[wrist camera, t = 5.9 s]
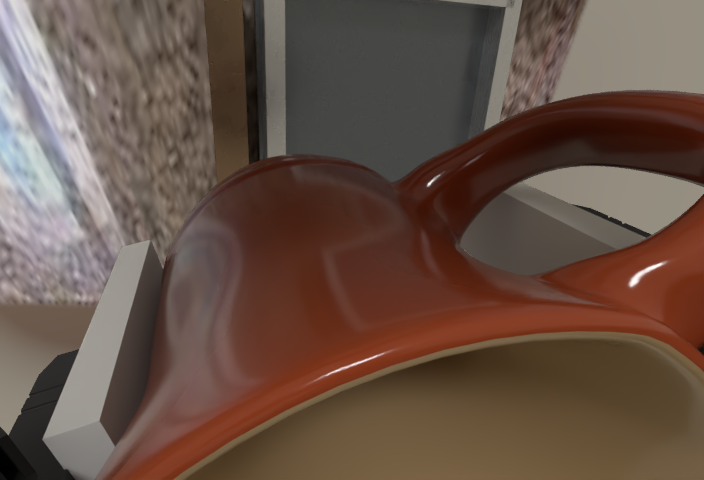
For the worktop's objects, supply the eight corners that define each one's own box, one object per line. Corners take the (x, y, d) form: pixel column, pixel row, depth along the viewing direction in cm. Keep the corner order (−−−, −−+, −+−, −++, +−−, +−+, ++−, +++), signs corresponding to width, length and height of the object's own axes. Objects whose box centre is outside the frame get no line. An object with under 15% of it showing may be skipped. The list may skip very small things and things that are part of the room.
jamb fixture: (200, -44, 25) (200, -57, 22) (502, -9, 32) (538, -15, 28) (222, 253, 33) (224, 278, 30) (459, 235, 40) (484, 254, 36)
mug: (298, 398, 17) (395, 818, 8) (80, 275, 12) (-275, 888, 3) (529, 173, 15) (970, 359, 6) (374, -48, 11) (1031, -415, 2)
